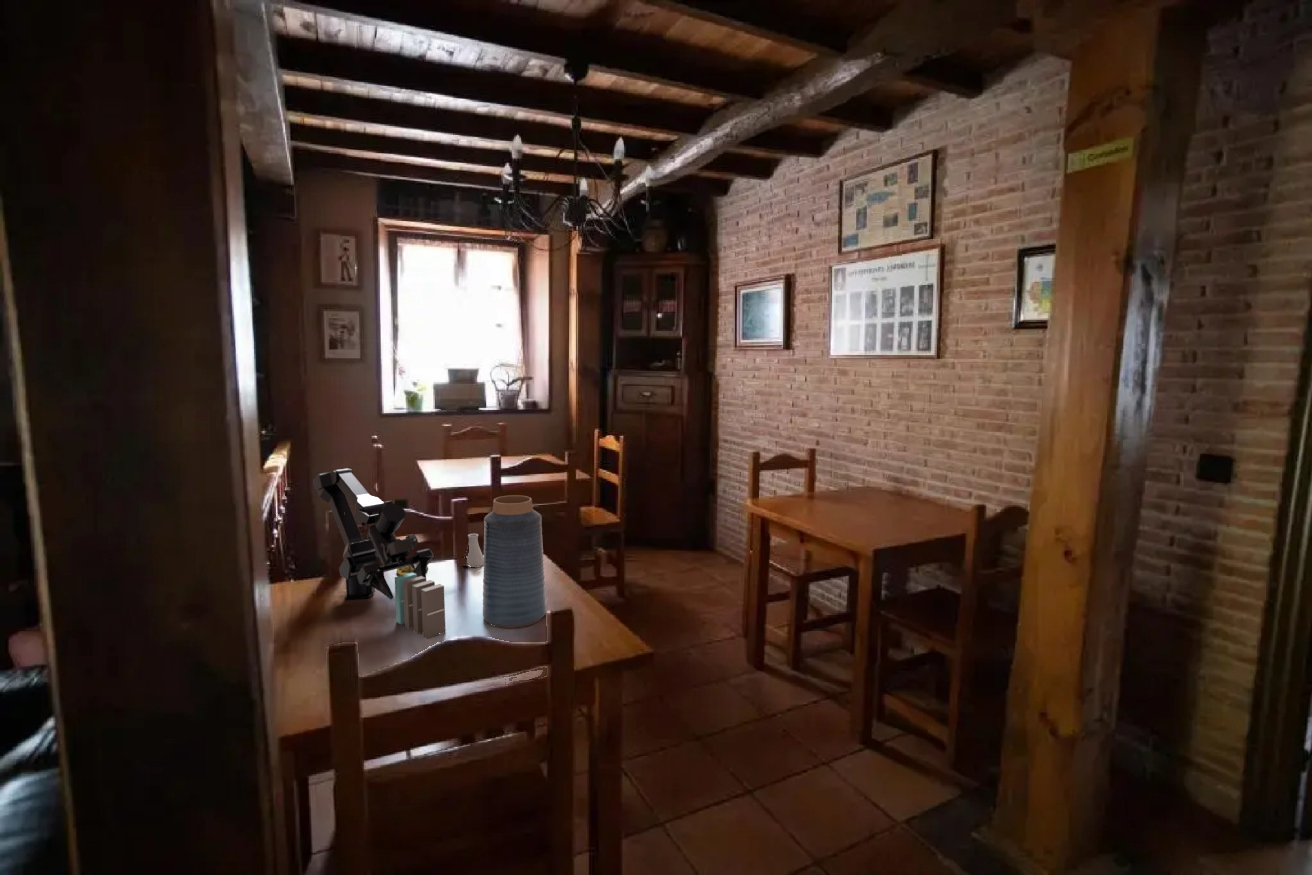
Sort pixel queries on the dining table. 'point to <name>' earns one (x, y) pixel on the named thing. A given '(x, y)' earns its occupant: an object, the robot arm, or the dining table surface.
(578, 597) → the dining table surface
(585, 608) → the dining table surface
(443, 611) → the domino
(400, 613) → the teal domino
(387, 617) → the dining table surface
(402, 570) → the seal
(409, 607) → the domino
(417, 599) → the domino
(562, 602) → the dining table surface
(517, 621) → the vase
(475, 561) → the flask
